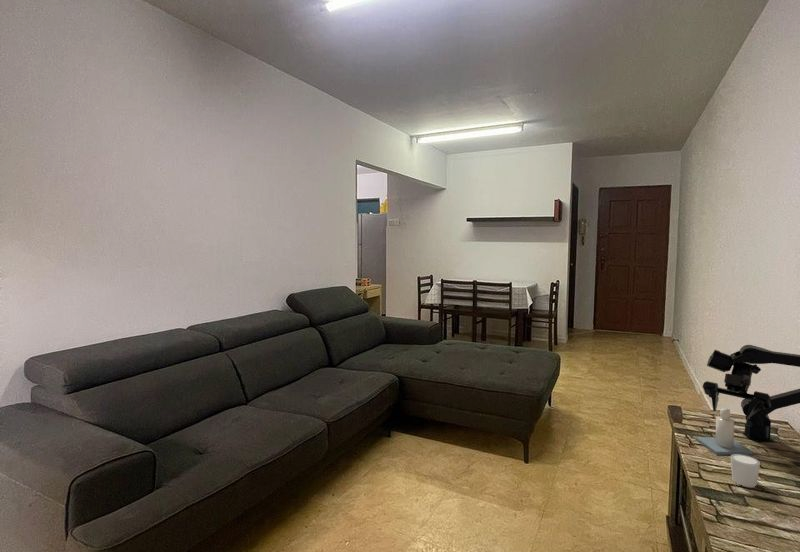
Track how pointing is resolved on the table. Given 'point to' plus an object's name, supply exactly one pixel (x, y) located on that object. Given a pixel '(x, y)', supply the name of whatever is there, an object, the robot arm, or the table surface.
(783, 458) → the table surface
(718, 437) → the cream bottle
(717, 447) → the slate board
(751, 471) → the shot glass
